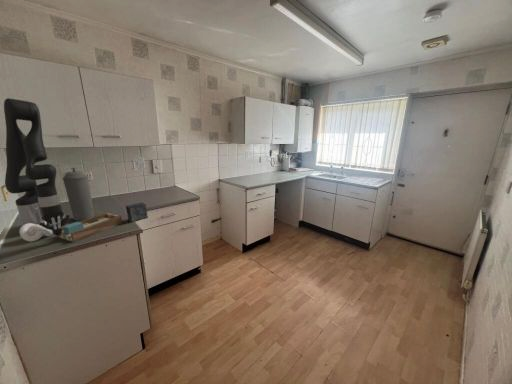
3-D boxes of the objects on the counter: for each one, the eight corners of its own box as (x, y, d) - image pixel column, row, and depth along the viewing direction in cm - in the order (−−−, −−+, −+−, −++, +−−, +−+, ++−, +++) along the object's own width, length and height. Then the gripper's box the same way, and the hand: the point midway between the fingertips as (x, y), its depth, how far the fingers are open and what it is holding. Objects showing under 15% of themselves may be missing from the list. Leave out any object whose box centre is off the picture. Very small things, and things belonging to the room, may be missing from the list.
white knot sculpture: (60, 232, 120) (57, 218, 118) (40, 243, 109) (36, 227, 107) (40, 233, 120) (36, 218, 118) (18, 243, 109) (13, 227, 106)
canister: (68, 222, 134) (55, 169, 125) (78, 215, 146) (67, 166, 137) (91, 220, 138) (79, 168, 129) (99, 214, 149) (89, 166, 140)
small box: (144, 215, 147) (142, 201, 144) (148, 218, 143) (146, 203, 140) (127, 220, 139) (125, 205, 136) (131, 222, 135) (129, 207, 132)
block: (64, 233, 114) (62, 226, 112) (78, 228, 120) (77, 221, 119) (69, 234, 112) (67, 227, 111) (84, 229, 118) (82, 223, 117)
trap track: (58, 237, 115) (56, 229, 114) (107, 219, 139) (106, 213, 138) (74, 242, 110) (71, 233, 109) (122, 223, 134) (121, 216, 133)
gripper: (61, 199, 112) (69, 228, 116) (28, 207, 100) (38, 239, 105) (69, 201, 109) (77, 231, 114) (36, 209, 97) (46, 242, 102)
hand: (58, 235), depth 109 cm, fingers closed
